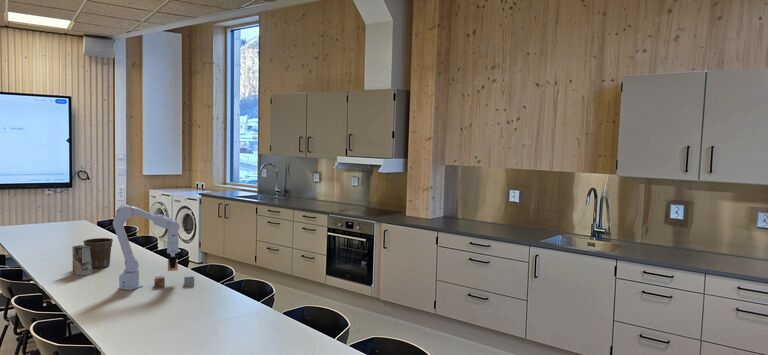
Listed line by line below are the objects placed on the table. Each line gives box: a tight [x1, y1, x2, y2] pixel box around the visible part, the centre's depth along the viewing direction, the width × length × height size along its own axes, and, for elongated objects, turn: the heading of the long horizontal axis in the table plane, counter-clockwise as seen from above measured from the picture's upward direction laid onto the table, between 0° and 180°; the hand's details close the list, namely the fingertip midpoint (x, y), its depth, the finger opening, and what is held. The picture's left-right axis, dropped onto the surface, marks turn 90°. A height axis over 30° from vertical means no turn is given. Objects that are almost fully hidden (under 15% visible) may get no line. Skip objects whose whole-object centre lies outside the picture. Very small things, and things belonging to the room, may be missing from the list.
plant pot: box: [82, 237, 114, 269], centre depth 335 cm, size 16×16×16 cm
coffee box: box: [71, 244, 93, 277], centre depth 316 cm, size 9×6×16 cm
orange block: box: [167, 258, 179, 272], centre depth 302 cm, size 5×5×5 cm
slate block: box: [183, 274, 195, 287], centre depth 302 cm, size 5×5×5 cm
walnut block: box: [153, 275, 166, 289], centre depth 297 cm, size 5×5×5 cm
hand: (172, 266), depth 302 cm, fingers closed on orange block, 5 cm apart
